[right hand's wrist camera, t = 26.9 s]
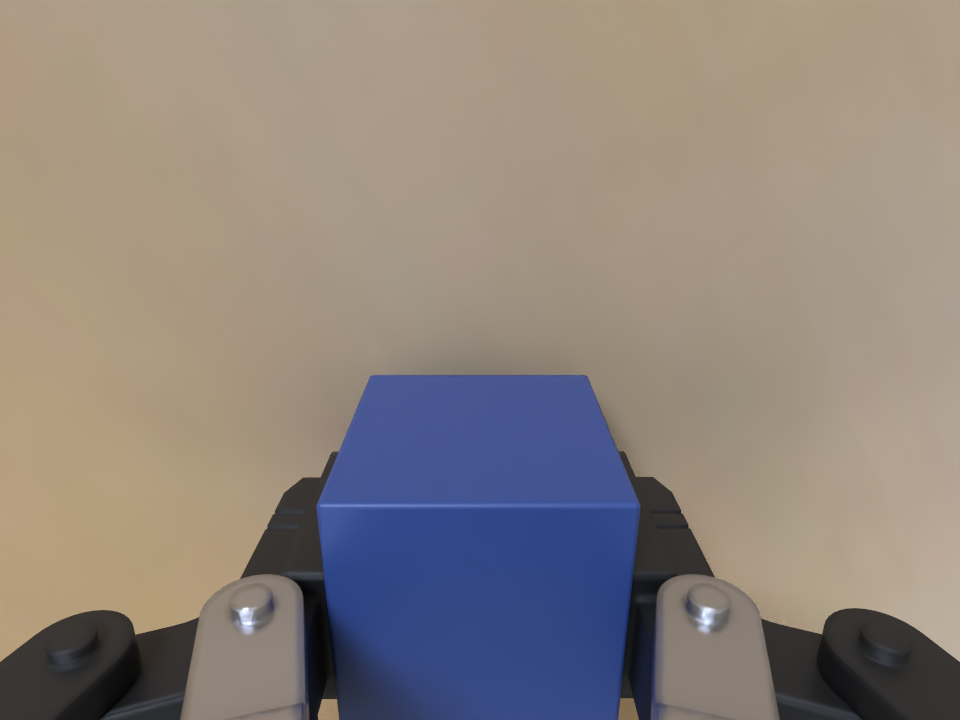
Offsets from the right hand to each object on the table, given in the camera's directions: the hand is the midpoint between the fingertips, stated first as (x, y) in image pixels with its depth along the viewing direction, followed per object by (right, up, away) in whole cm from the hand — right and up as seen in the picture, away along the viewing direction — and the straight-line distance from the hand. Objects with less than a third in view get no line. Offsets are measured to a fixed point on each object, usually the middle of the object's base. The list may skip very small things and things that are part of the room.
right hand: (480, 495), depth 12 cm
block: (0, 0, +1) cm, 0 cm away
